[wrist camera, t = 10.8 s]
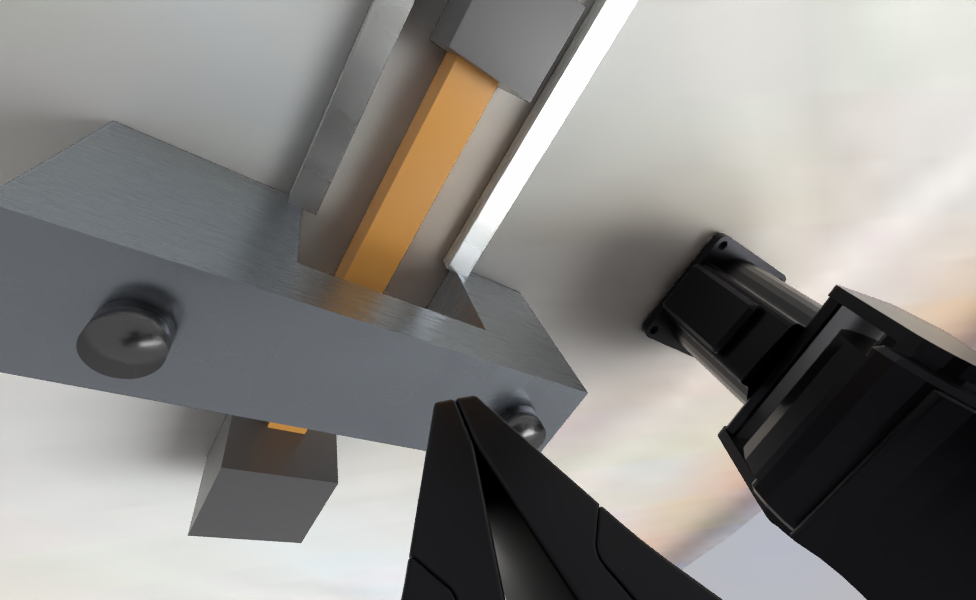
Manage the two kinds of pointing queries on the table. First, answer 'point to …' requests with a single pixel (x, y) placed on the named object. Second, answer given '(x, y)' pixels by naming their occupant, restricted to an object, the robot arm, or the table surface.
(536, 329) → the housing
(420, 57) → the table surface
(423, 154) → the grey-capped orange bar
